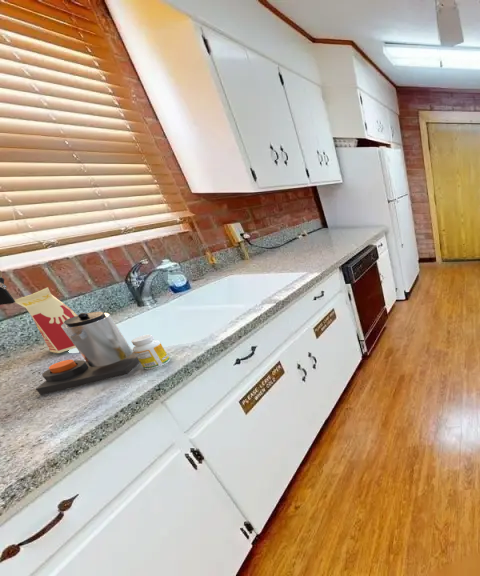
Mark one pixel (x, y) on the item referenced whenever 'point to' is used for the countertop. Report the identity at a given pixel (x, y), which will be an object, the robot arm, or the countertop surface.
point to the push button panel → (85, 374)
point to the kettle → (97, 338)
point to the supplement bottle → (149, 352)
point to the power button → (62, 366)
